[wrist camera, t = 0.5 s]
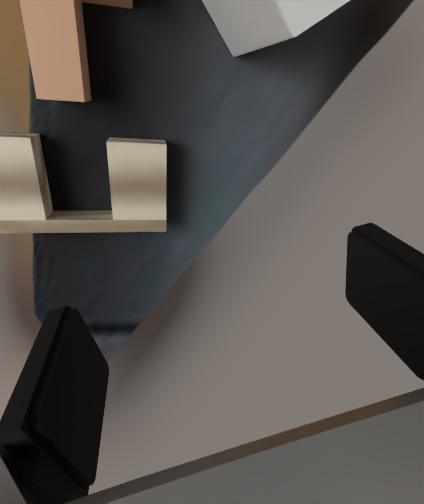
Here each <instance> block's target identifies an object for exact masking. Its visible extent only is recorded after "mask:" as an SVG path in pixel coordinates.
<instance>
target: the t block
mask: <svg viewBox="0 0 424 504" xmlns="http://www.w3.org/2000/svg"><path fill="white" fill-rule="evenodd" d="M82 2H85V3H92V4H100V5H107V6H115V7H122V8H130V9H133V0H20V5H21V10H22V17H23V22H24V28H25V34H26V40H27V45H28V51H29V57H30V62H31V68H32V74H33V80H34V85H35V91H36V97H37V99H48V100H62V101H76V102H87V101H91V91H90V81H89V71H88V60H87V50H86V40H85V30H84V20H83V10H82Z"/></svg>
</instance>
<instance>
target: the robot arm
mask: <svg viewBox="0 0 424 504" xmlns="http://www.w3.org/2000/svg"><path fill="white" fill-rule="evenodd" d="M346 268H347V269H346V292H345V293H346V298H347V300H348V302H349V303H350V305H351V306H352V307H353V308H354V309H355V310H356V311H357V312H358V313H359V314H360V315H361V316H362V318H363V319H364V320H365V321H366V322H367V323H368V324H369V325H370V326H371V327H372V328H373V329H374V330H375V331H376V333H377V334H378V335H379V336H380V337H381V338H382V339H383V340H384V341H385V342H386V343H387V344H388V346H390V348H391V349H392V350H393V351H394V352H395V353H396V354H397V355H398V356H399V357H400V358H401V360H402V361H403V362H404V363H405V364H406V365H407V366H408V367H409V368H410V369H411V370H412V371H413V372H414V374H415V375H416V376H417V377H419V378H420V379H422V380H424V254H422V253H421V252H419V251H418V250H416V249H414V248H413V247H411V246H409V245H408V244H406V243H404V242H403V241H401V240H400V239H398V238H396V237H395V236H393V235H392V234H390V233H388V232H387V231H385V230H383V229H382V228H380V227H378V226H377V225H375V224H373V223H368V224H364V225H360V226H356V227H354V228H353V229H352V232H350V233H349V234H348V243H347V267H346ZM108 377H109V368H108V364H107V362H106V360H105V358H104V356H103V354H102V353H101V351H100V349H99V347H98V345H97V344H96V342H95V340H94V338H93V337H92V335H91V333H90V331H89V329H88V328H87V326H86V324H85V322H84V321H83V319H82V317H81V315H80V313H79V312H78V310H77V309H76V308H74V309H71V307H69V306H64V307H60V308H57V309H53V310H50V311H48V312H47V314H46V317H45V319H44V321H43V323H42V326H41V328H40V331H39V333H38V335H37V337H36V340H35V342H34V344H33V347H32V349H31V351H30V354H29V356H28V358H27V360H26V363H25V365H24V367H23V370H22V372H21V374H20V377H19V379H18V381H17V384H16V386H15V388H14V390H13V393H12V395H11V397H10V400H9V402H8V405H7V407H6V409H5V411H4V414H3V416H2V418H1V421H0V504H424V388H422V389H419V390H415V391H412V392H409V393H406V394H403V395H399V396H396V397H393V398H390V399H387V400H383V401H380V402H377V403H373V404H370V405H367V406H364V407H361V408H357V409H354V410H351V411H348V412H345V413H341V414H338V415H335V416H332V417H329V418H325V419H322V420H319V421H316V422H313V423H310V424H306V425H303V426H300V427H297V428H294V429H291V430H287V431H284V432H281V433H278V434H275V435H272V436H268V437H265V438H262V439H259V440H256V441H253V442H250V443H246V444H243V445H240V446H237V447H234V448H231V449H227V450H225V451H221V452H218V453H215V454H212V455H209V456H206V457H203V458H200V459H196V460H193V461H191V462H187V463H184V464H181V465H178V466H175V467H172V468H169V469H165V470H162V471H160V472H156V473H153V474H150V475H147V476H144V477H141V478H138V479H134V480H131V481H129V482H126V483H123V484H120V485H117V486H114V487H111V488H108V489H105V490H102V491H99V492H97V493H93V494H90V495H88V491H89V485H92V484H93V483H94V481H95V477H96V471H97V463H98V455H99V447H100V439H101V431H102V424H103V416H104V408H105V400H106V392H107V385H108Z"/></svg>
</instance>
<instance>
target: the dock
mask: <svg viewBox="0 0 424 504" xmlns="http://www.w3.org/2000/svg"><path fill="white" fill-rule="evenodd" d="M106 142H107V154H108V166H109V178H110V190H111V202H112V211H53V206H52V201H51V195H50V190H49V184H48V179H47V173H46V168H45V162H44V156H43V151H42V145H41V140H40V134H35V133H15V132H0V233H79V232H166V168H167V144H166V141H165V140H155V139H135V138H115V137H109V139H108V140H107V141H106Z"/></svg>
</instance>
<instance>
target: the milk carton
mask: <svg viewBox="0 0 424 504" xmlns="http://www.w3.org/2000/svg"><path fill="white" fill-rule="evenodd" d="M202 1H203V3H204V5H205V7H206V9H207V10H208V12H209V14H210V16H211V18H212V19H213V21H214V23H215V25H216V27H217V29H218V30H219V32H220V34H221V36H222V38H223V39H224V41H225V43H226V45H227V47H228V48H229V50H230V52H231V54H232V55H233V56H234V57H236V56H239V55H242V54H245V53H248V52H252V51H255V50H258V49H261V48H264V47H267V46H270V45H273V44H276V43H279V42H282V41H285V40H288V39H291V38H294V37H296V36H298V35H299V34H301V33H302V32H304V31H305V30H307V29H308V28H310V27H311V26H313V25H314V24H316V23H317V22H319V21H320V20H322V19H323V18H325V17H326V16H328V15H329V14H331V13H332V12H334V11H335V10H336V9H338V8H339V7H341V6H342V5H344V4H345V3H347V2H348V1H350V0H202Z"/></svg>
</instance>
